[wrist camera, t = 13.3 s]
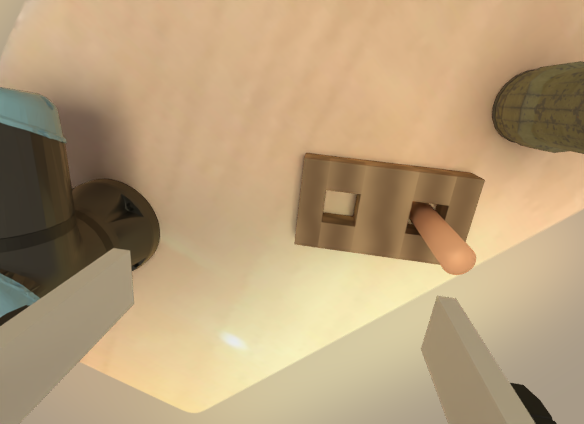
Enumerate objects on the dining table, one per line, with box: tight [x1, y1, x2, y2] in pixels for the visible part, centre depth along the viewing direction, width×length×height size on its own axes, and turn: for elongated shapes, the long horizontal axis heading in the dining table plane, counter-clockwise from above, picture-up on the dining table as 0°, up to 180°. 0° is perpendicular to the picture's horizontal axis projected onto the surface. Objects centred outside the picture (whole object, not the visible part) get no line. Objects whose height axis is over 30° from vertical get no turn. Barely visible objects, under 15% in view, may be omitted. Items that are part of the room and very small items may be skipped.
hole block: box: [294, 153, 485, 265], centre depth 44 cm, size 22×12×4 cm, turn 84°
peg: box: [409, 201, 476, 275], centre depth 38 cm, size 3×3×15 cm
